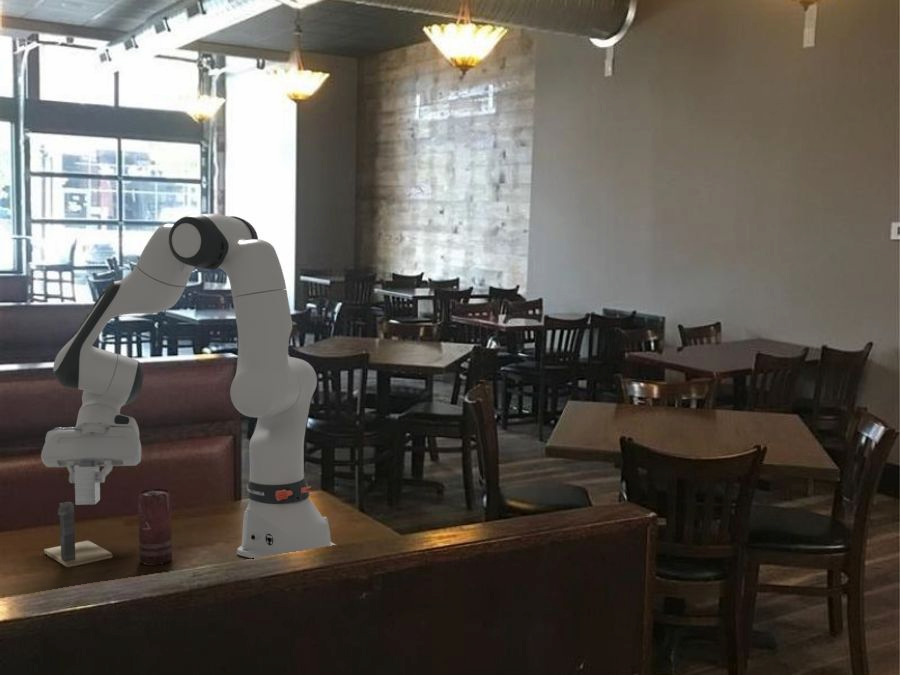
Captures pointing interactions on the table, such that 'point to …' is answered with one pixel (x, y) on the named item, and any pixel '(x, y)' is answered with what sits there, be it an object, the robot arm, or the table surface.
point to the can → (155, 526)
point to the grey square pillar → (86, 483)
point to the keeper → (69, 549)
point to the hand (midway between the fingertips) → (86, 481)
